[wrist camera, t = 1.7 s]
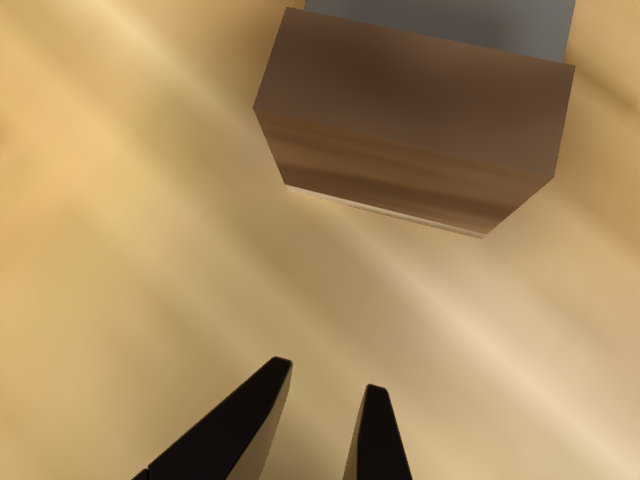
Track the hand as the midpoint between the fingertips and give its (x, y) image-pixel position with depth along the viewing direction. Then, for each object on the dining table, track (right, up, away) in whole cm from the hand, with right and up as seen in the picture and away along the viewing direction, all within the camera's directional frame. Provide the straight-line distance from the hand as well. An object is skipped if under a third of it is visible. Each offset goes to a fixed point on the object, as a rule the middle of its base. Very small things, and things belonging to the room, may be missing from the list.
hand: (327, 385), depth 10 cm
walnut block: (+4, +6, +15) cm, 17 cm away
